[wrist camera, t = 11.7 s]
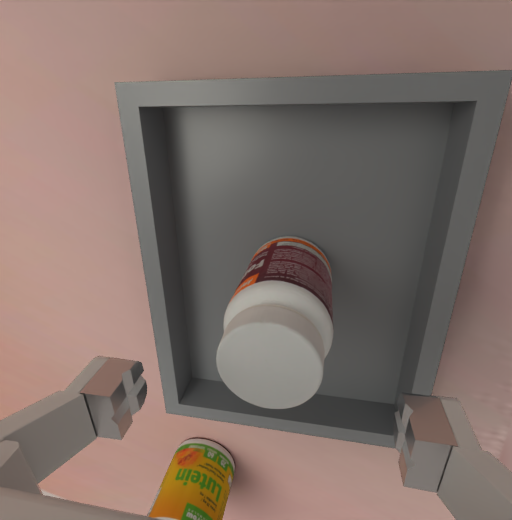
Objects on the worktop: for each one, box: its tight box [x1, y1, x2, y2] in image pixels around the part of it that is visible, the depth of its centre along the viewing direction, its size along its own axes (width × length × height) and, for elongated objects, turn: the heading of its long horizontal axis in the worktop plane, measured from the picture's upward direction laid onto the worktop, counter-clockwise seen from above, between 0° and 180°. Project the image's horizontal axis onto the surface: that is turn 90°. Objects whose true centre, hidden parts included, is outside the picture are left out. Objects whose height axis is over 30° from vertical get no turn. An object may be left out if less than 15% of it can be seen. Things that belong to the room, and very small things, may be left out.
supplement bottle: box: [147, 438, 235, 520], centre depth 25 cm, size 5×5×10 cm
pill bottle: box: [216, 236, 334, 409], centre depth 16 cm, size 5×5×8 cm
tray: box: [114, 70, 512, 448], centre depth 19 cm, size 20×16×4 cm
